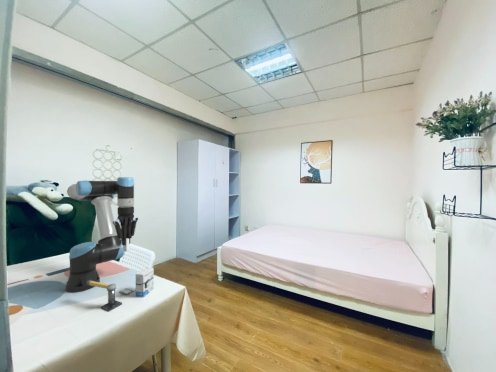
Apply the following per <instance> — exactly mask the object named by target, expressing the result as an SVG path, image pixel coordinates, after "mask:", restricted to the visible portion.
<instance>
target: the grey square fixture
mask: <svg viewBox="0 0 496 372" xmlns="http://www.w3.org/2000/svg"><path fill="white" fill-rule="evenodd" d="M122 305H123V302H121V301H118V300H116V289H115V290H113V291H107V303H105V304H103V305H101V306H100V309H102V310H105V311H106V312H111V311H113V310H114V309H116V308H118V307H120V306H122Z"/></svg>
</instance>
